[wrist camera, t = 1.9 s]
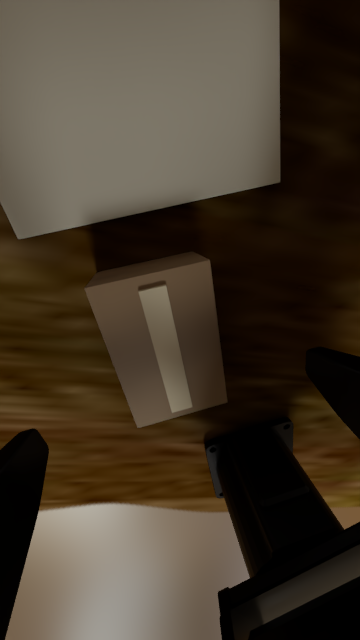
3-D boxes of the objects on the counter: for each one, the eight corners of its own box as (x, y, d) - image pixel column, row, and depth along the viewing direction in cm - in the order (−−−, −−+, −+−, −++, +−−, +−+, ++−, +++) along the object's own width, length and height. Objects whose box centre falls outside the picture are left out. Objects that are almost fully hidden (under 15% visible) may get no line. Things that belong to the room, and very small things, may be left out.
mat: (274, 183, 10) (280, 182, 10) (22, 238, 9) (18, 239, 9) (268, -263, 6) (277, -296, 5) (-205, -241, 5) (-234, -279, 4)
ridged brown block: (209, 366, 14) (228, 404, 11) (137, 386, 13) (137, 430, 10) (191, 250, 11) (211, 260, 8) (97, 271, 10) (83, 289, 7)
